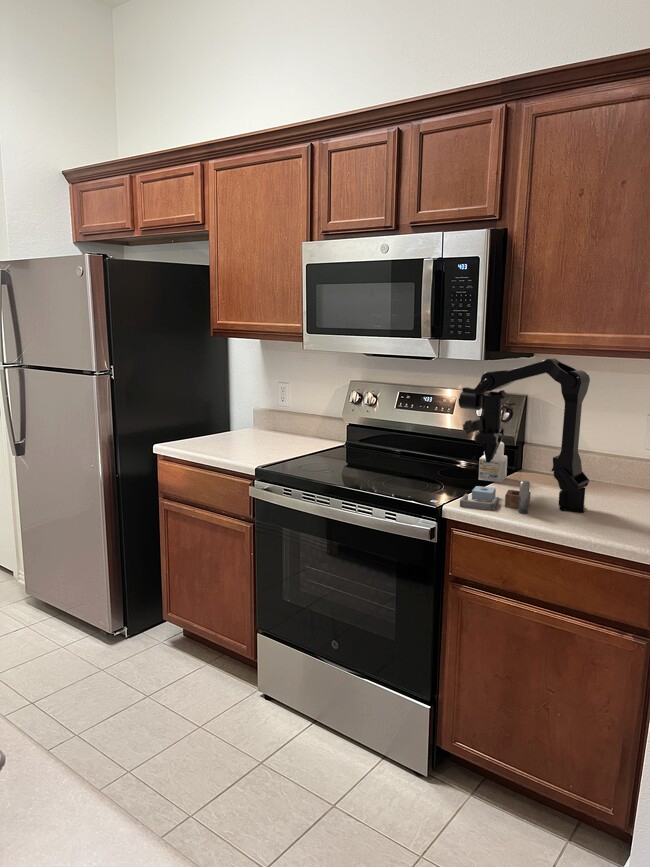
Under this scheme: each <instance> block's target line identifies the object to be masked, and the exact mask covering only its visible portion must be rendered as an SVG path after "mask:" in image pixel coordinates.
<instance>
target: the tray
mask: <svg viewBox="0 0 650 867" xmlns="http://www.w3.org/2000/svg"><path fill="white" fill-rule="evenodd" d="M498 499H499V498H498V497H497V496H495V498H494V499H493V501H492V502H486V501H477V500H469V494H468V493H465V494H463V496H462V497H461V498H460V499H459V507H461V506H463V507H462V508H469V507H470V508H471V509H478V508H480V510H486V509H488V510H487V511H489V510H490V511H494V510H495V508H496V506H497V505H498V503H499V502H498V501H499V500H498ZM493 509H494V510H493Z"/></svg>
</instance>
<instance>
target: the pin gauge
mask: <svg viewBox="0 0 650 867" xmlns="http://www.w3.org/2000/svg"><path fill="white" fill-rule="evenodd" d="M530 484H531V483H530V481H529V480H520V481H519V491H520V494H519V508H518V513H519V514H521V515H528V514H529V507H528V504H529V492H530Z"/></svg>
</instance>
